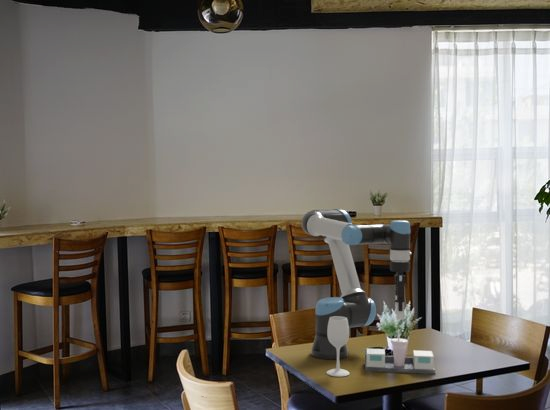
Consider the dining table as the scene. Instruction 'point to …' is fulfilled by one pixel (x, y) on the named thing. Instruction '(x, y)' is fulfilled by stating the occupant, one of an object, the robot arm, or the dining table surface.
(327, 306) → the robot arm
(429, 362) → the mounted modules
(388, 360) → the rail plate
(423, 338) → the dining table surface
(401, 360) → the smoothie
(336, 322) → the wineglass
